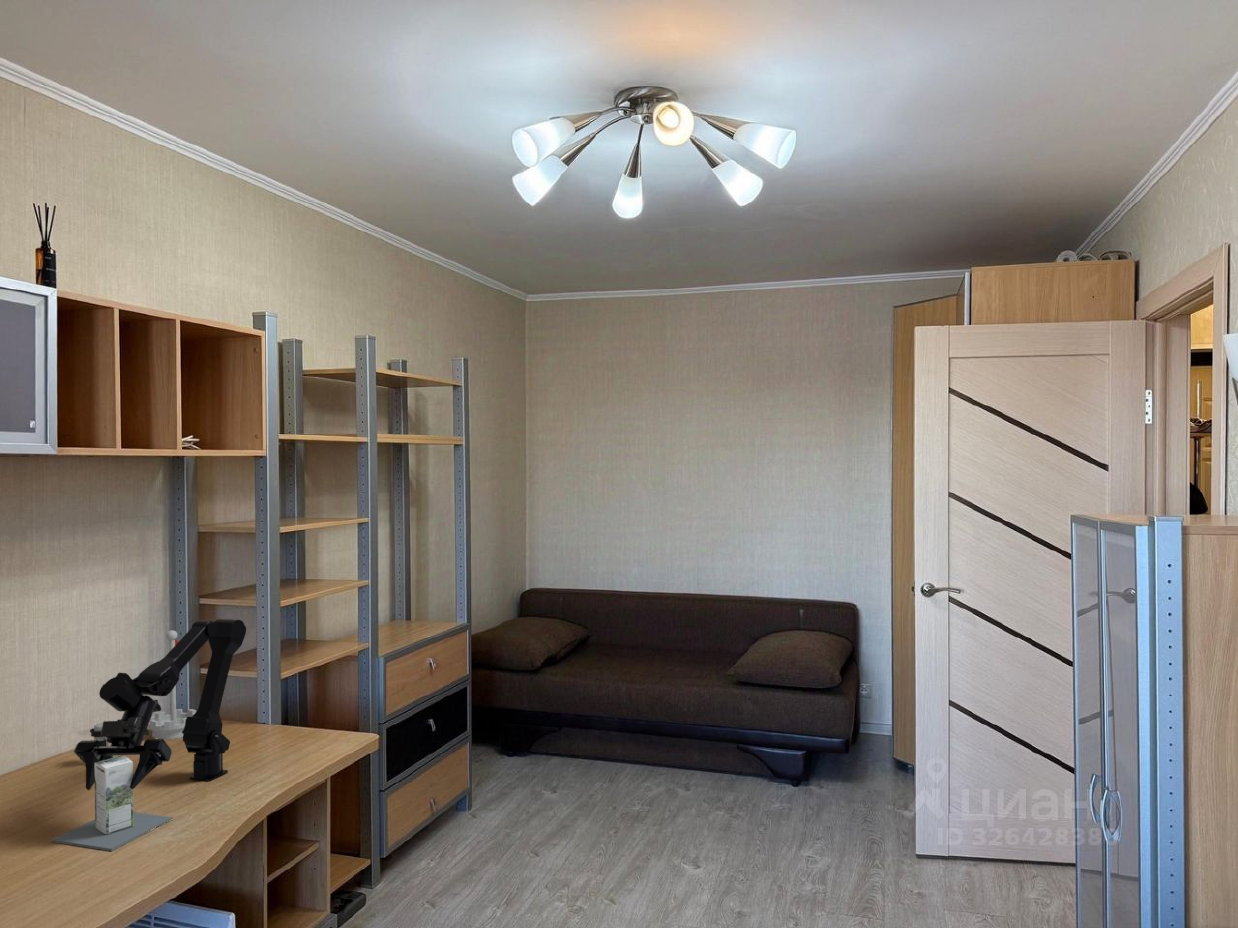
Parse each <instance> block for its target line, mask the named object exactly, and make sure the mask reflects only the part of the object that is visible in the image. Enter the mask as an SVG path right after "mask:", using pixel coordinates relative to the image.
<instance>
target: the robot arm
mask: <svg viewBox="0 0 1238 928" xmlns="http://www.w3.org/2000/svg"><path fill="white" fill-rule="evenodd" d="M246 634H247V626H246V625H245V623H244V621H243V620H241V619H229V618H227V619H226V618H217V619H215V620H214V621H213V620H201V619H199V620H197V621H195V622H193V623H192V626H191V628H190V629H189V630H188V631H187V632H186V634H184V636H183V637H182V638H181V639H180V640H178V641H179V642H178V643H177V644H176V645H175V646H174V648H173V649H172V650H171V651H170V652H169V651H168V653H167V654H165V656H164V657H163V658H161V659H160V660H158V661H156V662H154V663H152V664H150V665H149V666H147V667H146V668H144V669H143V670H142V671H141V672H140V673H139V674H138V676H136V677H134V678H132V677H131V676H130V675H129V674H128V673H126V672H118V673H117V675H115V677H112V678H110V679H109V680H107V681H106V682H105V683H103V685H102V686H101V688H100V689H99V698H100V699H102V700H103V701H104V702H105V703H106V704H108V705H109V706H110V707H112V708H113V709H115V710H116V711H118V712H123V714H122V717H121V718H120V719H117V720H104V721H102V723H103V726H102V731H101V735H100V737H103V736H104V737H108V738H107V742H108V743H110V746H102V745H101V744H100V743H99V742H98V741H97V740H94V739H91V740H81V741H79V742H78V743H77V744H76V745H75V748H74V749H73V753H74V754H75V755H76V756H77V757H78V758H79V759H80V760H81V761H82V762H83V763H84V764H85V789H86V790H87V791H90V790H91V789H92V787H93V786H94V785H95V762H99V761H103V760H104V758H105V756H106V755H113V756H135V755H136V756H138V755H139V759H138V763H137V766H136V768H135V771H134V772H133V778H132V781H131V784H130V788H131V789H133V790H134V789H135V788H136V787H137V786H138V785H139V784H140V783H141V782H142V781H143V780H144V779H145V777H147V775H148V774H150V773H151V772H152V771H153V770H154V769H155V768H156V767H158V766H162V765H163V763H164V762H169V761H170V760H171V757H172V751H173V750H172V749H171V747H170V746H169V745H168V743H167V742H166V740H164V739H154V738H148V739H146V740H145V741H144V742H143V740H144V738H145V737H146V736H148V735H149V732H150V730H149V728H148V725H149V722H150V719H151V716H153V714H154V713H158V712H162V706H161V705H160V703H159V701H158V699H153V698H152V696H153V697H166V696H168V695H170V692H171V691H172V690H173V688H174V687H175V685H176V686H177V684H178V682H179V680H180V676H181V675H180V673H181V672H182V671H183V669H184V668H185V667H186V666H187V664H189V662H190V661H191V660H192V659H193V658H194V657H195V655H196V654H197V653H198V652H199V651H200V650H201V649H202V648H203V646H204V645H206V643H207V642H208V644H209V648H210V650H211V656H210V660H209V663H208V667H207V671H206V676H205V680H204V684H203V687H202V691H201V695H200V700H199V703H198V708H197V710H196V713H195V714H194V715H193V716H192V717H189V716H188V717H187V718H186V721H185V727H184V730H183V731H182V733H183V737H182V742H184V745H185V748H186V750H187V753H191V754H193V762H192V763H193V768H192V769H193V774H192V775H190V776H189V780H190V779H191V780H197V781H205V780H206V781H207V782H211V781H213V780H215V779H217V778H219V777H222V776H224V775H225V774H227V773H228V772H229V770H227V769H223V768H224V766H223V765H224V763H223V759H224V758H223V754H225V753H226V751H228V750H229V748H230V744H231V740H230V739H228V737H226V736H225V735H224V733H222V732H223V722H222V719H221V715H220V710H221V706H222V701H223V697H224V692H225V688H226V684H227V680H228V677H229V671H230V667H231V665H232V660H233V656H234V654H235V653H236V652H238V650H239V649H240V648H241V647H242V645H243V642H244V640H245V637H246ZM142 743H143V745H142Z"/></svg>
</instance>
